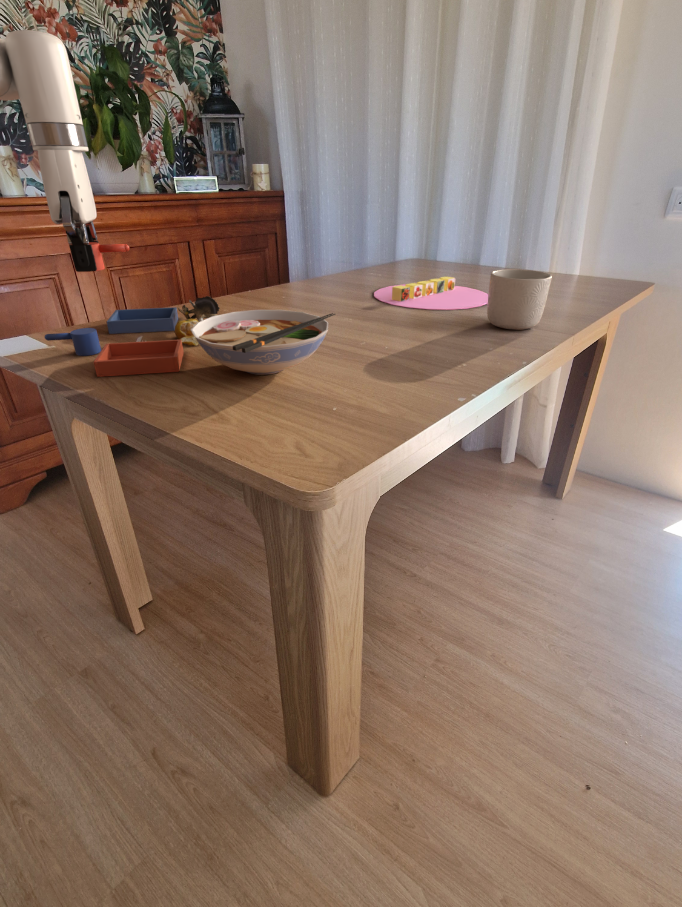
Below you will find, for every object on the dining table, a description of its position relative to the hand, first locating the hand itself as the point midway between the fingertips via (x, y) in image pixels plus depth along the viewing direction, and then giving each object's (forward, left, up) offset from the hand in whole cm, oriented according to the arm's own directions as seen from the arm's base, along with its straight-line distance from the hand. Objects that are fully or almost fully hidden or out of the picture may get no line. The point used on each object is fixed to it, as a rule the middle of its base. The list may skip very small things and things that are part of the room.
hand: (90, 267), depth 83 cm
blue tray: (+3, +21, -16) cm, 27 cm away
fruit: (+14, +8, -16) cm, 23 cm away
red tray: (+6, -5, -16) cm, 17 cm away
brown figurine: (+16, +19, -16) cm, 30 cm away
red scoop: (+2, 0, 0) cm, 2 cm away
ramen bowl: (+27, -11, -16) cm, 33 cm away
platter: (+76, +38, -16) cm, 87 cm away
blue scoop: (-7, +4, -16) cm, 18 cm away
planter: (+83, +6, -16) cm, 85 cm away
